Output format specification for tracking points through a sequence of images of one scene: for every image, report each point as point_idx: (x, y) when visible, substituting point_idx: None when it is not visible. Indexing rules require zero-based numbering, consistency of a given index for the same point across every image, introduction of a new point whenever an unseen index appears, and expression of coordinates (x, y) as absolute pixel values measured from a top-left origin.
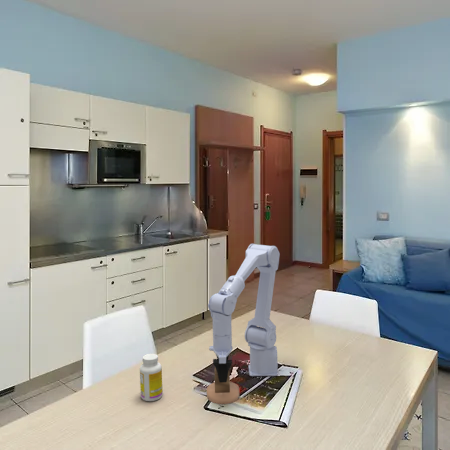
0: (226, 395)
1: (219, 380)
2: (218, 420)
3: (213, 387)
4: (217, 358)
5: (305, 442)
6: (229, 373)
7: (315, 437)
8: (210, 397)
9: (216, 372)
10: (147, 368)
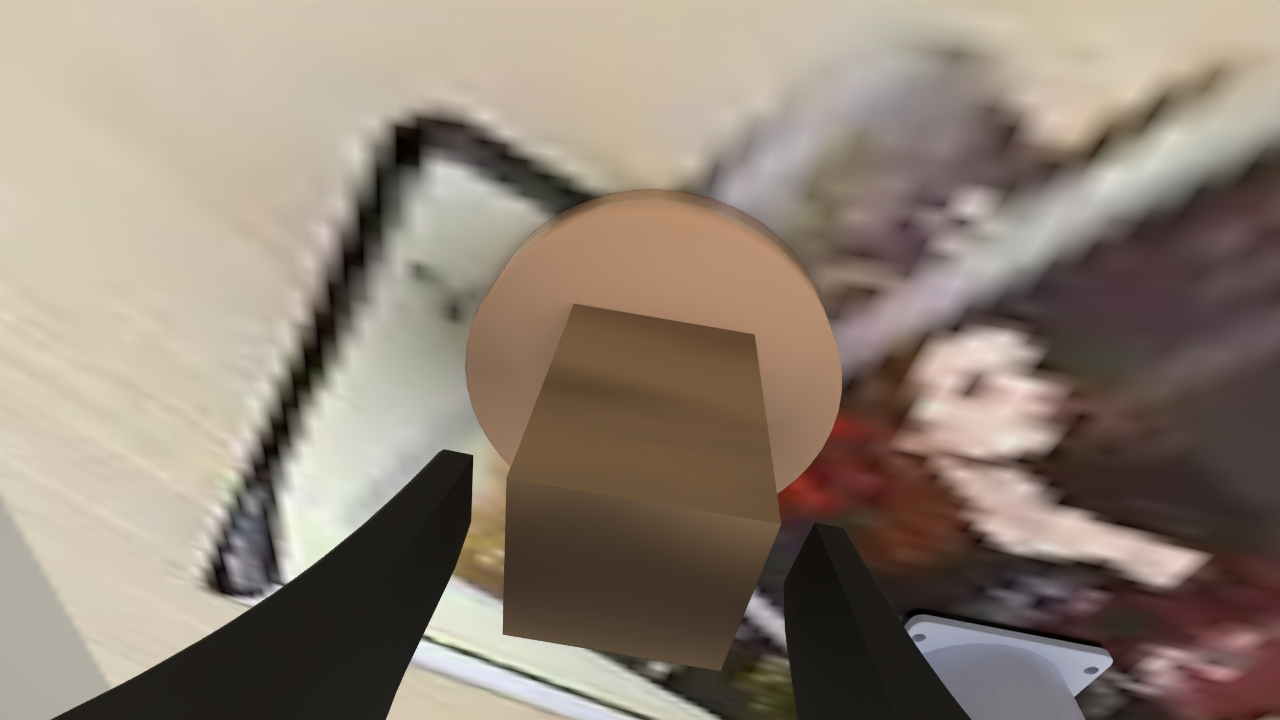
0: (498, 400)
1: (423, 469)
2: (195, 223)
3: (712, 311)
4: (885, 708)
5: (89, 611)
6: (503, 633)
7: (148, 652)
8: (552, 230)
9: (564, 510)
10: None
